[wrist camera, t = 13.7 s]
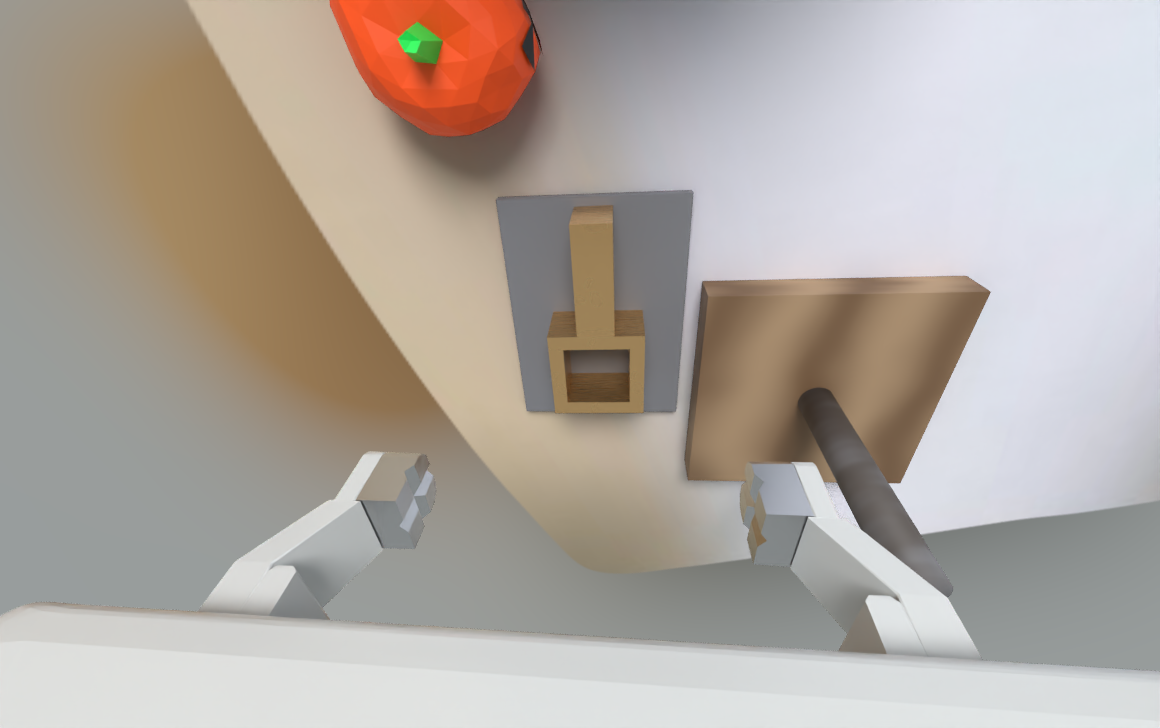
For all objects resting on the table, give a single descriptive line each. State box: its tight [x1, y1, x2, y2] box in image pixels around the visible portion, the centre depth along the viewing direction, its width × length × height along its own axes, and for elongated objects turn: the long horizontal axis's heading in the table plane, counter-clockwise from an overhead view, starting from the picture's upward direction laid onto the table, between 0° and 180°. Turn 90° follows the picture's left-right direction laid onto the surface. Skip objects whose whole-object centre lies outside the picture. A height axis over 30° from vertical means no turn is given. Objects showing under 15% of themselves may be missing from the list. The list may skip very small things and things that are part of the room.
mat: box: [496, 190, 693, 411], centre depth 28 cm, size 10×14×1 cm
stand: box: [685, 276, 990, 598], centre depth 24 cm, size 14×14×14 cm
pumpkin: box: [330, 0, 543, 137], centre depth 18 cm, size 7×8×6 cm
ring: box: [547, 205, 645, 413], centre depth 26 cm, size 5×11×3 cm, turn 3°
